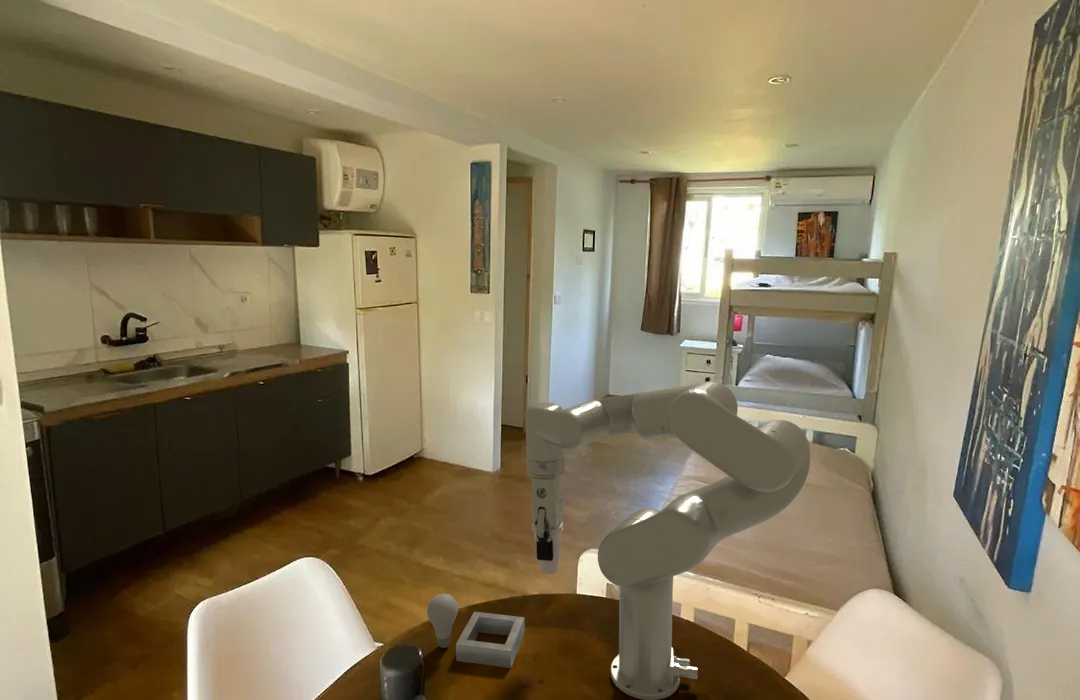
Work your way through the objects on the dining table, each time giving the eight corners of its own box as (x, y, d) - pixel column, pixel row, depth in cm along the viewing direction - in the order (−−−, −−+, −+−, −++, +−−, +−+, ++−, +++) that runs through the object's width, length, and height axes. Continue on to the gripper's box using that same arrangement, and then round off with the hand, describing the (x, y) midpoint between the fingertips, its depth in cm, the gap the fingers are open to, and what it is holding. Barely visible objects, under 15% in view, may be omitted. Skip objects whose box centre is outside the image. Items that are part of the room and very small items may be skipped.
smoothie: (540, 559, 118) (537, 495, 116) (568, 564, 115) (567, 498, 114) (528, 574, 112) (525, 507, 110) (558, 579, 109) (556, 510, 108)
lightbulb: (452, 658, 109) (451, 605, 108) (423, 654, 111) (421, 602, 109) (463, 639, 115) (461, 589, 114) (435, 635, 117) (433, 586, 115)
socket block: (524, 632, 117) (524, 617, 117) (511, 668, 106) (510, 651, 106) (474, 626, 119) (474, 611, 119) (456, 660, 109) (455, 644, 108)
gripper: (556, 480, 102) (559, 574, 104) (571, 453, 119) (573, 534, 121) (516, 479, 104) (520, 571, 106) (536, 452, 120) (539, 532, 122)
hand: (548, 550), depth 113 cm, fingers closed on smoothie, 6 cm apart
